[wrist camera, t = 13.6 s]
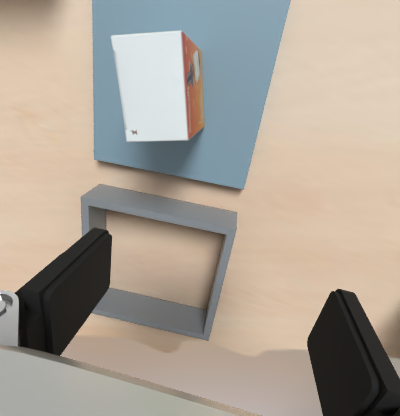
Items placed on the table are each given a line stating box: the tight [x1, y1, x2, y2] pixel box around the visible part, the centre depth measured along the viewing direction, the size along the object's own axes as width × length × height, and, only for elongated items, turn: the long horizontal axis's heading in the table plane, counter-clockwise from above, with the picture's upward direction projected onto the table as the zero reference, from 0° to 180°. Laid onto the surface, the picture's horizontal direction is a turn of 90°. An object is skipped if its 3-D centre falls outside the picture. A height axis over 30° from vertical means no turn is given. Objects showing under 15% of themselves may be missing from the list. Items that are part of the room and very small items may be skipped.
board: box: [92, 0, 290, 189], centre depth 31 cm, size 20×20×2 cm
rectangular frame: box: [81, 184, 237, 341], centre depth 39 cm, size 20×20×5 cm
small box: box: [111, 30, 205, 142], centre depth 25 cm, size 8×6×10 cm
